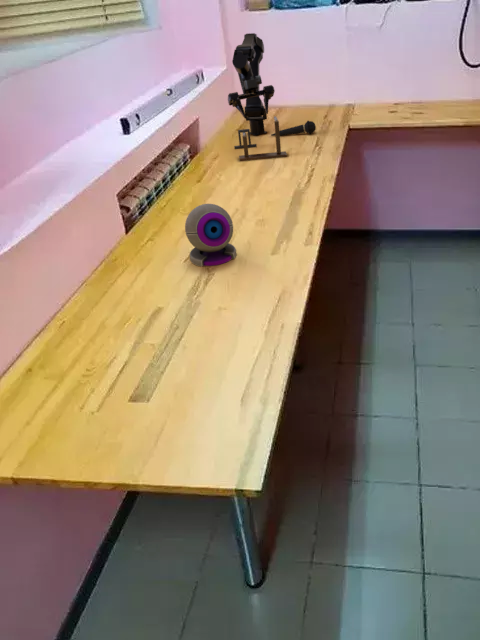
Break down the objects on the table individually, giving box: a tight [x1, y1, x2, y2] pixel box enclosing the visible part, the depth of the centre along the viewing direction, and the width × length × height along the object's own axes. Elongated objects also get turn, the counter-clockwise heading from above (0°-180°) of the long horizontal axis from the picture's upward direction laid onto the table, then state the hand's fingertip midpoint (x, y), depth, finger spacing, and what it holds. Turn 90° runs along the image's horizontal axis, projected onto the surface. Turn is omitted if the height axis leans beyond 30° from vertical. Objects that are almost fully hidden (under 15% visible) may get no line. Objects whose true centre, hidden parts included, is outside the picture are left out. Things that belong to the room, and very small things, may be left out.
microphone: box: [270, 120, 317, 137], centre depth 273 cm, size 6×6×20 cm
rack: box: [238, 115, 288, 162], centre depth 246 cm, size 8×19×14 cm, turn 96°
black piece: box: [233, 128, 258, 150], centre depth 248 cm, size 2×9×7 cm, turn 97°
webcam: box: [184, 203, 238, 267], centre depth 169 cm, size 13×13×15 cm
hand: (256, 115), depth 250 cm, fingers open, 9 cm apart
